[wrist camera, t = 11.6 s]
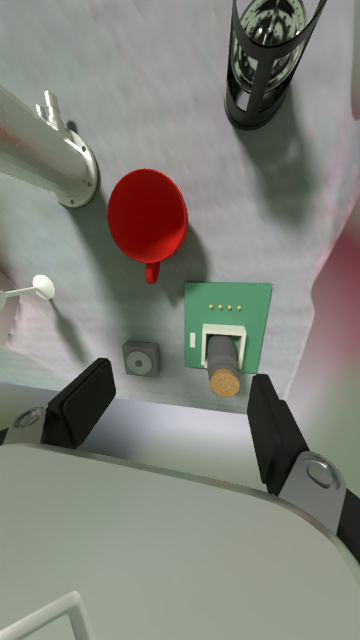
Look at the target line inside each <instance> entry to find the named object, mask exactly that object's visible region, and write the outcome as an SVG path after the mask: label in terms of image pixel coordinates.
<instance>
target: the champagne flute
mask: <svg viewBox="0 0 360 640" xmlns="http://www.w3.org/2000/svg"><path fill="white" fill-rule="evenodd" d="M35 291H36V293H37V294H38V295H39V296H40V297H42V298H44V299H51V298H53V296H54V294H55V288H54V285H53V283H52V282H51V281H50V279H48V278H47V277H46V276H43V275H37V276H35V277H34V279H33V287H31V288H25V289H20V290H14V291H9V292H3V291H1V290H0V310H1V309H2V308H3V307H4V305H5V301H6V297H11V296H16V295H21V294H26V293H30V292H35Z"/></svg>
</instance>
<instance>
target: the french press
mask: <svg viewBox="0 0 360 640" xmlns="http://www.w3.org/2000/svg"><path fill="white" fill-rule="evenodd" d="M326 1H327V0H320V2H319V4H318V7H317V9H316V11H315V14H314V16H313V18H312V20H311V21H310V22H309V24H308V25H307V19H306V11H305V7H304V4H303V1H302V0H253V1H252V2H251V3H250V4H249V5H248V6H247V8H246V9H245V11H244V12H243V14H242V16H241V18H240V20H239V17H238V12H237V7H236V0H233V7H232V19H231V32H230V45H229V58H228V70H227V80H226V84H225V90H224V106H225V110H226V114H227V116H228V118H229V120H230V121H231V123H232V124H233V125H234V126H236V127H237V128H239V129H241V130H246V131H249V130H255V129H258V128H260V127H262V126H263V125H265V124H266V123H267V122H269V121H270V120H271V119H272V118H273V117H274V115H275V114H276V113H277V112H278V110H279V108H280V107H281V105H282V103H283V101H284V99H285V96H286V93H287V90H288V86H289V84H290V82H291V79H292V77H293V75H294V73H295V71H296V68H297V66H298V64H299V62H300V59H301V57H302V55H303V53H304V50H305V48H306V46H307V44H308V42H309V39H310V37H311V35H312V33H313V30H314V28H315V26H316V24H317V21H318V19H319V17H320V15H321V13H322V10H323V8H324V6H325V4H326ZM233 31H235V33H234V36H233ZM235 79H236V81H237V83H238V84H239V86H240V87H241V88H242V89H243V90H244V91H245V92H247V93H248V94H250V97H249V102H248V106H247V110H246V111H244V110H242V109H241V108H239V107H238V106H237V105H236V104H235V102H234V101H233V86H234V82H235ZM279 84H280V85H279ZM278 85H279V90H278V94H277V96H276V98H275V100H274V102H273V103H272V105H271V106H269V107H267V108H266V109H264V110H261V111H259V109H260V106H261V103H262V99H263V96H264V94H266V93H268V92H270V91H271V90H273V89H274V88H276V87H277V86H278Z"/></svg>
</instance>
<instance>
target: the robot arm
mask: <svg viewBox="0 0 360 640" xmlns="http://www.w3.org/2000/svg"><path fill="white" fill-rule="evenodd" d="M43 94H44V99H45V103H46V108H47V110H48V115H49V117H46V113H45V109H44V108H43V107H42V106H39V105H36V106H35V108H36V112H37V113H36V112H35V111H33V110H32V109H31V108H30V107H28V106H27V105H26V104H25V103H23V102H22V101H21V100H20V99H18V98H17V97H16V96H15V95H13V94H12V93H11V92H10V91H8V90H7V89H6V88H5V87H3V86H2V85H1V84H0V172H2V173H5V174H7V175H10V176H12V177H15V178H18V179H20V180H23V181H25V182H28V183H30V184H33V185H36V186H38V187H41V188H43V189H46V190H47V191H48V192H49V193H50V195H51V196H52V197H53V198H54V199H55V200H56V201H58V202H59V203H61V204H63V205H65V206H68V207H73V208H78V207H81V206H84V205H85V204H87V203H88V202H89V201H90V200H91V198H92V197H93V195H94V193H95V190H96V186H97V177H98V175H97V166H96V162H95V159H94V156H93V153H92V152H91V150H90V148H89V146H88V145H87V144H86V142H85V141H84V140H83V139H82V138H81V137H80V136H79V135H77V134H76V133H75V132H74V131H72V130H69V129H67V128H64V123H63V122H62V120H61V119H60V114H59V113H60V111H59V106H58V101H57V97H56V96H55V95H54V94H53V93H51V92H48V91H45V92H44V93H43ZM115 395H116V388H115V383H114V377H113V372H112V367H111V362H110V361H109V360H108V359H107V358H98V359H97V360H95V361H94V362H93V363H92V364H91V365H90V366H89V367H88V368H87V369H86V370H84V371H83V372H82V373H81V374H80V375H79V376H78V377H77V378H76V379H74V380H73V381H72V382H71V383H70V384H69V385H68V386H67V387H66V388H64V389H63V390H62V391H61V392H60V393H59V394H58V395H57V396H56V397H54V398H53V399H52V400H51V401H50V402H49V403H48V406H49V407H48V408H46V409H45V408H44V407H34V408H31V409H29V410H26V411H24V412H22V413H21V414H20V415H18V416H17V417H16V418H15V419H14V420H13V421H12V423H11V424H10V427H9V428H7V429H4V430H2V431H0V640H360V499H359V498H358V497H357V496H356V495H355V494H353V493H352V492H351V491H349V490H348V489H347V488H346V483H345V480H344V477H343V476H342V474H341V473H340V471H339V470H338V469H337V468H336V466H335V465H333V463H332V462H330V461H329V460H328V459H327V458H325V457H323V456H322V455H320V454H318V453H315V452H311V451H310V450H309V448H308V446H307V444H306V442H305V440H304V438H303V436H302V434H301V432H300V430H299V428H298V426H297V424H296V422H295V419H294V417H293V415H292V413H291V412H290V409H289V407H288V405H287V403H286V402H285V401H284V400H279V398H278V396H277V394H276V391H275V389H274V387H273V385H272V383H271V380H270V378H269V376H268V375H267V374H258V373H257V374H256V376H253V379H252V384H251V390H250V396H249V402H248V407H247V415H248V420H249V424H250V429H251V434H252V439H253V443H254V448H255V452H256V457H257V462H258V466H259V471H260V476H261V480H262V483H263V484H266V486H267V490H268V493H267V492H264V491H260V490H257V489H253V488H250V487H247V486H243V485H238V484H234V483H230V482H226V481H221V480H217V479H213V478H208V477H204V476H199V475H194V474H190V473H185V472H180V471H175V470H171V469H166V468H162V467H157V466H152V465H147V464H143V463H138V462H133V461H128V460H123V459H119V458H113V457H109V456H104V455H99V454H94V453H89V452H84V451H79V450H76V449H77V447H78V446H80V445H81V444H82V443H83V442H84V440H85V439H86V437H87V436H88V435H89V433H90V432H91V430H92V429H93V427H94V426H95V424H96V423H97V421H98V420H99V419H100V417H101V416H102V414H103V413H104V411H105V410H106V408H107V407H108V406H109V404H110V403H111V401H112V400H113V398H114V397H115ZM272 494H274V495H272Z"/></svg>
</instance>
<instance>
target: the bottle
mask: <svg viewBox="0 0 360 640" xmlns="http://www.w3.org/2000/svg"><path fill="white" fill-rule="evenodd" d="M207 370H208V373H209V381H210V388H211V390H212V391H213V392H214V393H215V394H216V395H218V396H221V397H231V396H233V395H235V394H236V393H237V392H238V391H239V389H240V383H239V363H238V358H237V354H236V350H235V346H234V342H233V339H232V337H231V335H223V334H212V335H211V336H210V338H209V341H208V357H207Z"/></svg>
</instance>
